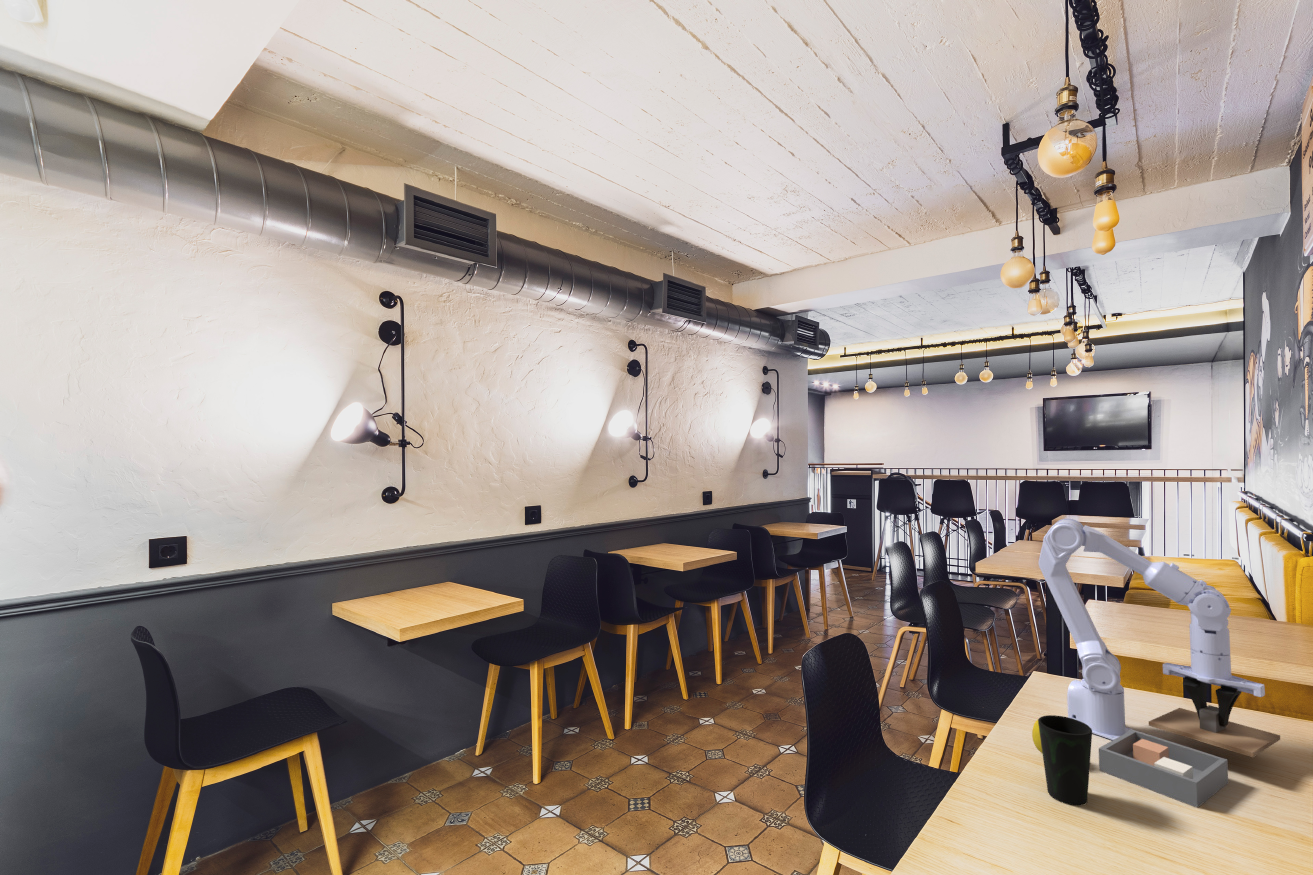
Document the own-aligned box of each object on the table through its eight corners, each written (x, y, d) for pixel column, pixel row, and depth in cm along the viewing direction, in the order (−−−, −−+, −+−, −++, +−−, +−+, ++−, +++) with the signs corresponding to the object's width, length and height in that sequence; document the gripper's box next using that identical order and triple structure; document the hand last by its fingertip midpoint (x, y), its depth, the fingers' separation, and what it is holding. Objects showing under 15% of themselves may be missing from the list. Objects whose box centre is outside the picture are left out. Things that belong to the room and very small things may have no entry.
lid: (1148, 725, 118) (1148, 703, 118) (1179, 711, 126) (1179, 690, 126) (1252, 757, 105) (1252, 732, 106) (1280, 739, 113) (1279, 716, 113)
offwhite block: (1155, 780, 105) (1154, 762, 106) (1164, 773, 108) (1163, 756, 108) (1183, 790, 102) (1183, 772, 102) (1193, 783, 104) (1192, 766, 104)
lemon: (1073, 767, 112) (1071, 723, 112) (1040, 764, 113) (1038, 721, 113) (1059, 752, 117) (1058, 711, 117) (1028, 750, 118) (1026, 709, 118)
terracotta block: (1133, 760, 112) (1132, 744, 112) (1142, 754, 114) (1142, 738, 114) (1160, 769, 109) (1159, 752, 109) (1169, 763, 111) (1168, 747, 111)
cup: (1085, 787, 105) (1083, 718, 105) (1102, 812, 98) (1099, 737, 98) (1035, 780, 107) (1032, 712, 108) (1047, 804, 100) (1044, 731, 100)
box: (1099, 770, 111) (1098, 748, 111) (1133, 750, 118) (1132, 729, 118) (1197, 807, 99) (1196, 782, 99) (1228, 782, 106) (1227, 759, 106)
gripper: (1155, 644, 121) (1158, 713, 120) (1254, 665, 108) (1257, 742, 108) (1169, 638, 124) (1172, 705, 124) (1267, 658, 112) (1270, 732, 111)
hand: (1213, 722), depth 116 cm, fingers closed on lid, 2 cm apart
